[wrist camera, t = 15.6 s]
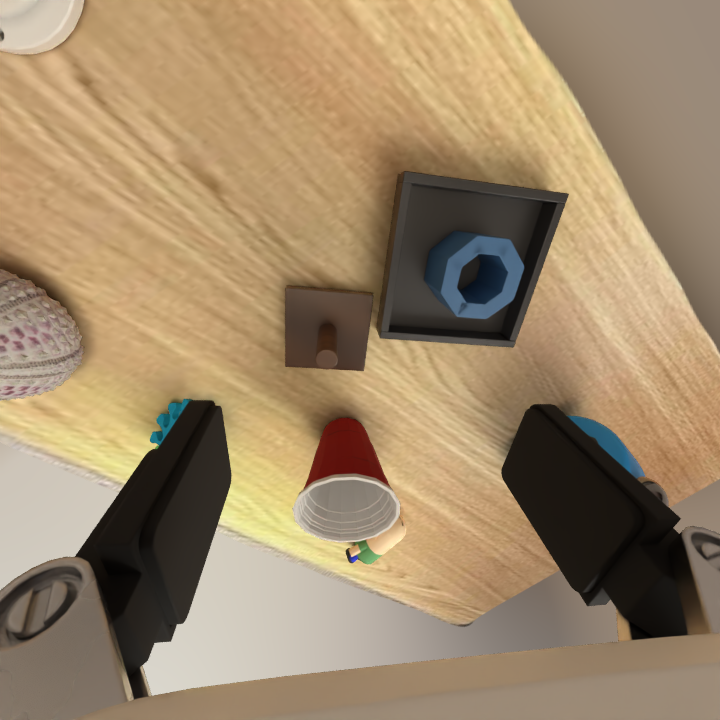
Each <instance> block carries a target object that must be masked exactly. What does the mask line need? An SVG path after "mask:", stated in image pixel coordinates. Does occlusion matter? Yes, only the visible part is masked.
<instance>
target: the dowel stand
mask: <svg viewBox="0 0 720 720" xmlns="http://www.w3.org/2000/svg"><path fill="white" fill-rule="evenodd" d="M372 304H373V293H367V292H356V291H344V290H333V289H321V288H310V287H298V286H286V288H285V366H286V367H302V368H320V369H338V370H356V371H364V366H365V358H366V351H367V343H368V335H369V327H370V319H371V312H372Z"/></svg>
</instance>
